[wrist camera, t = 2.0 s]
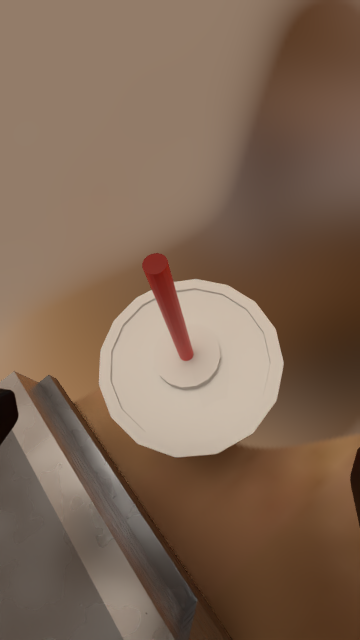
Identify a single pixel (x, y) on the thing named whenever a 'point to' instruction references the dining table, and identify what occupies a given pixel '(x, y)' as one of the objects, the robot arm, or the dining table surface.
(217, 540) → the dining table surface
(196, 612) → the housing
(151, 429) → the beverage cup
